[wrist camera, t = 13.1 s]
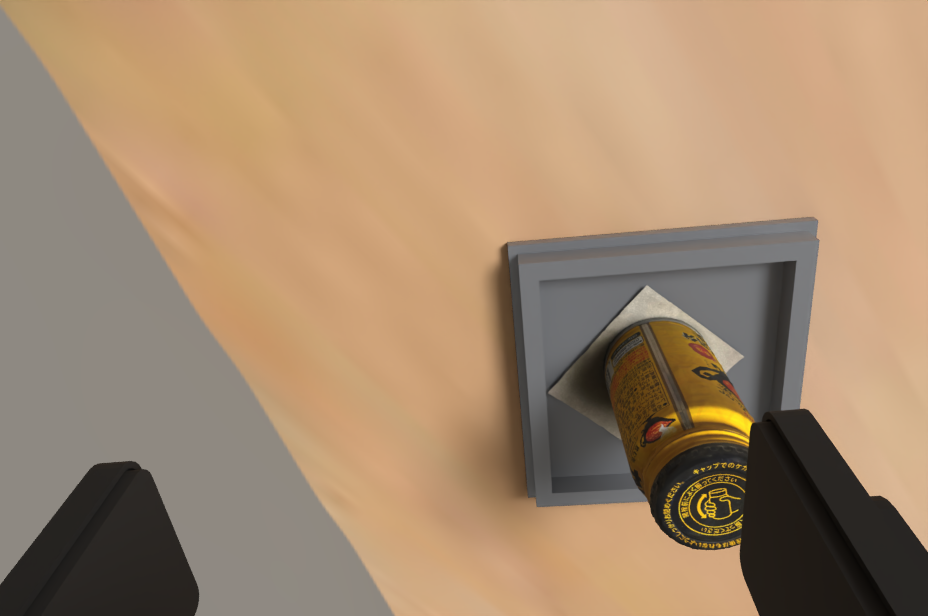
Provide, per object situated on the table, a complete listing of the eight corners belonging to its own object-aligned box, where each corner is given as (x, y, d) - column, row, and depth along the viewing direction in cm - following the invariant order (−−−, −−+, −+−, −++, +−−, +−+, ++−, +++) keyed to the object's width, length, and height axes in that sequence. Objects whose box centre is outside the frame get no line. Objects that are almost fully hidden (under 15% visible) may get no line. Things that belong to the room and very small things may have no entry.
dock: (507, 242, 37) (507, 256, 35) (813, 216, 36) (830, 229, 34) (527, 491, 44) (529, 514, 43) (783, 477, 43) (797, 500, 41)
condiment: (743, 354, 39) (839, 497, 28) (641, 452, 42) (691, 615, 31) (645, 283, 37) (707, 404, 26) (547, 389, 40) (565, 538, 29)
